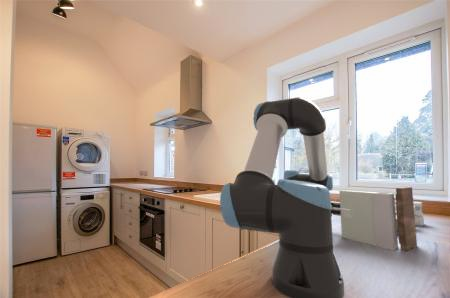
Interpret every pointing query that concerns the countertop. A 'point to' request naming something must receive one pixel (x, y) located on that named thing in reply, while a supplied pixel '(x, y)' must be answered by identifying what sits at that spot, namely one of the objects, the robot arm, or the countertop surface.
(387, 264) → the countertop surface
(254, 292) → the countertop surface
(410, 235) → the walnut cabinet side
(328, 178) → the robot arm
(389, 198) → the cream thick square slab
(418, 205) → the light bulb box
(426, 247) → the countertop surface
